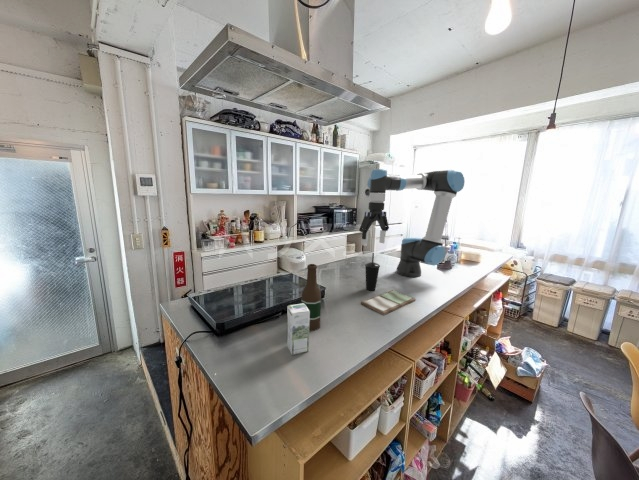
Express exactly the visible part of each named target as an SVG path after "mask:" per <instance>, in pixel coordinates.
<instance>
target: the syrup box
mask: <svg viewBox="0 0 639 480" xmlns="http://www.w3.org/2000/svg"><path fill="white" fill-rule="evenodd" d="M286 309H287V310H286V311H287V313H286V314H287V315H286V316H287V317H286V318H287V320H286V322H287V324H286V346H287V348H288V350H289V352H290V354H291V356H295V355H299V354H304V353H307V352H309V349H310V348H309V346H310V344H309V343H310V330H309V322H310V311H309V309H308V308H307V306H306V305H305V304H304V303H302V304H301V303H297V304H288V305H287V308H286Z"/></svg>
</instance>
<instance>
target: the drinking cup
mask: <svg viewBox="0 0 639 480" xmlns="http://www.w3.org/2000/svg"><path fill="white" fill-rule="evenodd" d="M374 255H375V252H372V255H371V257H372V259H371V262H366V263H365V264H364V266H365V268H364V269H365V290H366V291H367V292H371V293H372V292H375V291H376V288H377V282H378V277H379V270H380V267H381V265H380V264H379V263H377V262H374V257H375V256H374Z"/></svg>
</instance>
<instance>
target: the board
mask: <svg viewBox="0 0 639 480" xmlns="http://www.w3.org/2000/svg"><path fill="white" fill-rule="evenodd" d="M413 302H416V298H414V297H412V296H410V295H407V294H404V293H401V292H398V291H396V290H393V289H392V290H389V291H387V292H384V293H381V294H379V295H376V296H373V297H370V298H367V299H365V300H363V301H361V302H360V304H361V305H362V306H364V307H366V308H369V309H371V310H373V311H375V312H376V313H379V314H381V315H384V316H385V315H387V314H390V313H392V312H394V311H396V310H398V309H401V308H403V307H405V306H408V305H409V304H412V303H413Z"/></svg>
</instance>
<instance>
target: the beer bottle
mask: <svg viewBox="0 0 639 480" xmlns="http://www.w3.org/2000/svg"><path fill="white" fill-rule="evenodd" d="M317 267H318V266H317V265H316V264H314V263H310V264H307V267H306V269H307V272H306V273H307V275H306V285H305V286H304V287H303V290H302V293H301V297H300V298H301V299H300V301H301V302H300V304H302V303H304V304H305V305H306V306H307V308H308V309H309V311H310V322H309V331H315V330H316V331H317V330H318V329H320V328H321V316H322V315H321V313H322V311H321V310H322V307H321V306H322V291H321V289H320V287H319V285H318V283H317V269H318V268H317Z"/></svg>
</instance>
